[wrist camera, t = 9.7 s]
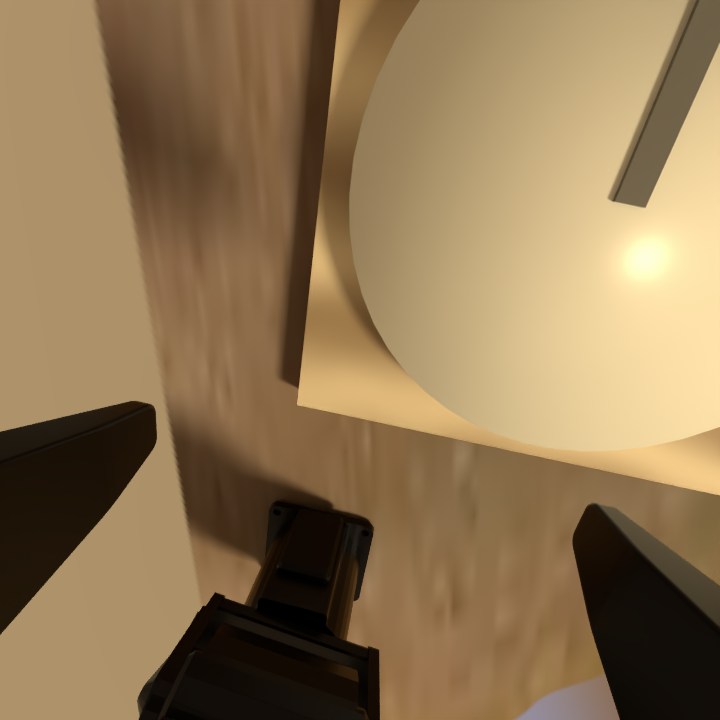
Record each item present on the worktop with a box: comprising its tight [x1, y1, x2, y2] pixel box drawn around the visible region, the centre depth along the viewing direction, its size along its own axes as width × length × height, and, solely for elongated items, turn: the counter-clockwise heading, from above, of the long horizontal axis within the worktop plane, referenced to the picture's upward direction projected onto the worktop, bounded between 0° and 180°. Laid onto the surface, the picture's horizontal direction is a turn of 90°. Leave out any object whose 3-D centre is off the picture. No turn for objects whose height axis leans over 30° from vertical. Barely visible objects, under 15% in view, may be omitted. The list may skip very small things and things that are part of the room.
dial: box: [349, 0, 720, 451], centre depth 12 cm, size 19×19×6 cm
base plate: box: [297, 0, 720, 495], centre depth 15 cm, size 22×22×2 cm
